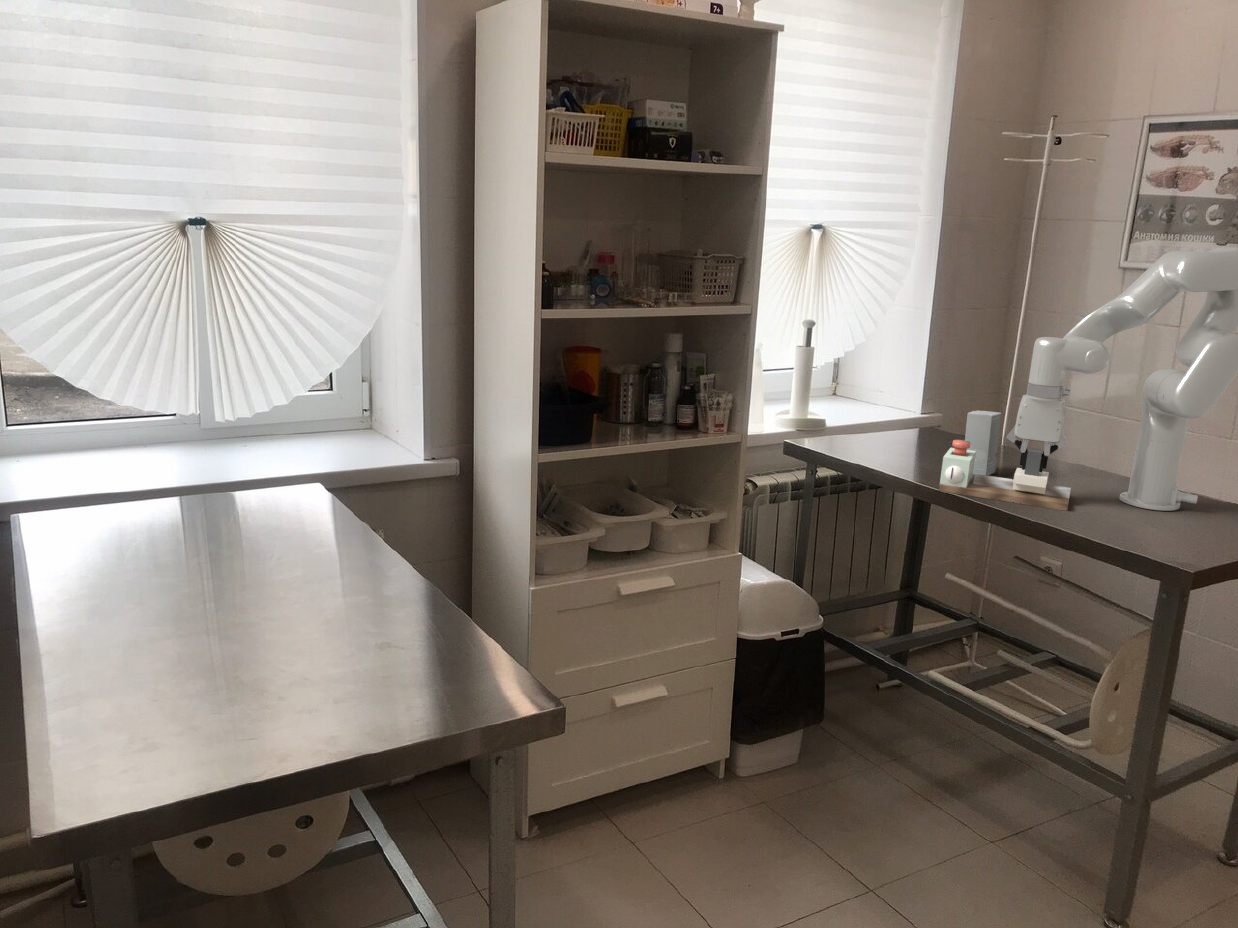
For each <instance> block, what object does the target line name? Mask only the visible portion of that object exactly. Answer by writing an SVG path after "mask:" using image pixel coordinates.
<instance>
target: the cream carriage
mask: <svg viewBox="0 0 1238 928" xmlns="http://www.w3.org/2000/svg"><path fill="white" fill-rule="evenodd" d="M1027 449H1028V454H1027V460H1026V466H1025V470H1022V467H1021V468H1020V467H1016V470H1015V472H1014V474H1013V475H1014V476H1013V479H1014V480H1013V489H1015V490H1021V491H1028V492H1034V493H1041V494H1045V490H1046V485H1047V484H1048V479H1049V474H1050V472H1049V471H1042V473H1041V472H1039V468H1040V462H1041V456H1042V454H1043V451H1044V449H1043V448H1034V447H1029V448H1027Z"/></svg>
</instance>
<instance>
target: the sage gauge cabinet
mask: <svg viewBox="0 0 1238 928" xmlns="http://www.w3.org/2000/svg"><path fill="white" fill-rule="evenodd" d="M954 449H955V447H950V448H949V449H948V450H947V452H946V453H945V454H944V455H943V456H942V465H941V470H940V471H941V472H940V478H939V479H940V481H939V484H945V485H952V486H958V487H965V488H966V487H967V486H968V484H969V482H970V480H971V479H972V476H974V475H973V469H974V463H975V456H976V451H972V450H967V452H966V456H958V455H954Z"/></svg>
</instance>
